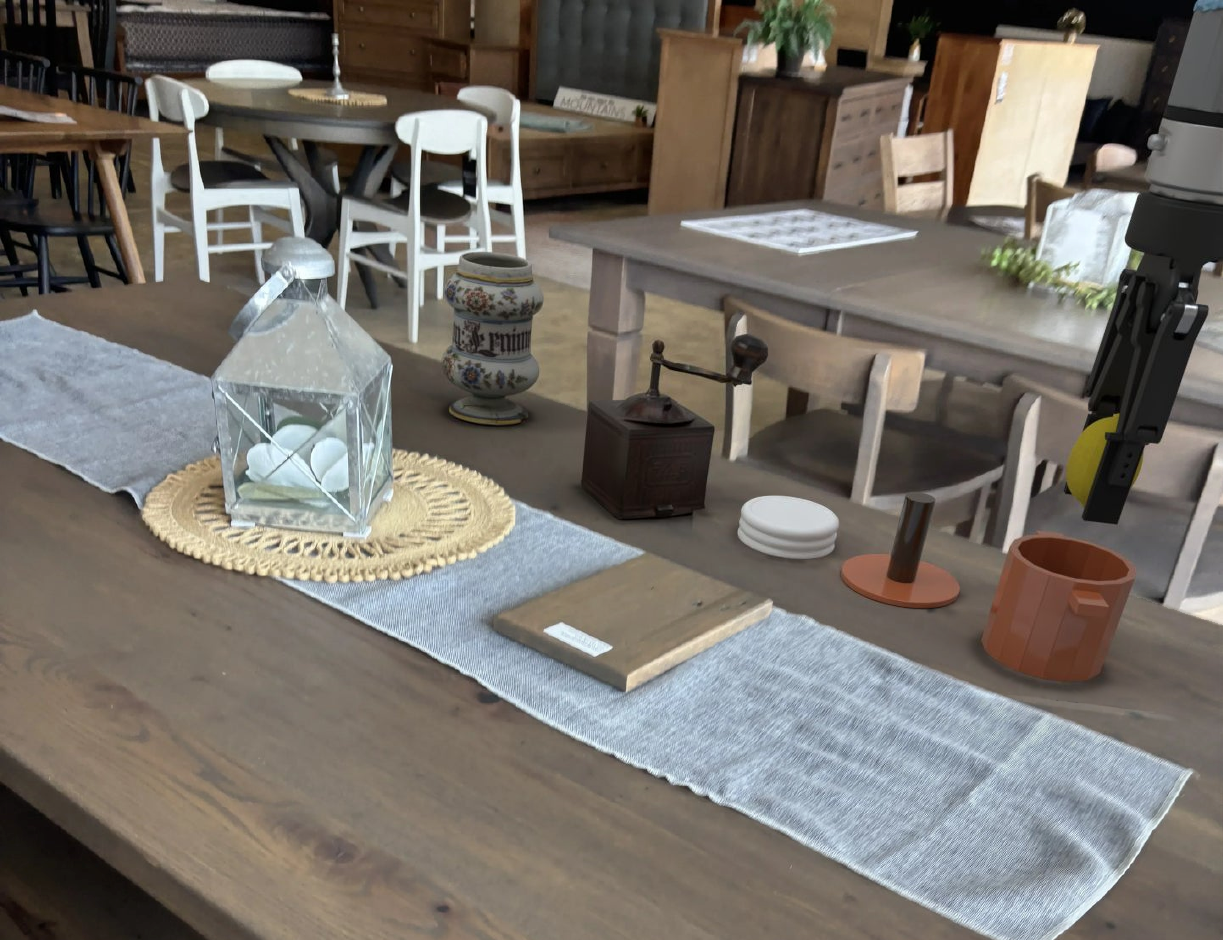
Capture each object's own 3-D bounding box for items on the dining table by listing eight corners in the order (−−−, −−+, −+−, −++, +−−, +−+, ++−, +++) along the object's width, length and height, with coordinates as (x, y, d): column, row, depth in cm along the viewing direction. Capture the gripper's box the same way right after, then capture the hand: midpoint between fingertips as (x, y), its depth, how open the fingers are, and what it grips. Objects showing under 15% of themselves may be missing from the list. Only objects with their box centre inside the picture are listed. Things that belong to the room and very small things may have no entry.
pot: (1076, 627, 113) (1109, 531, 108) (1122, 708, 100) (1162, 604, 95) (966, 613, 113) (994, 517, 108) (998, 693, 100) (1031, 588, 95)
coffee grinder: (620, 523, 124) (640, 341, 113) (578, 485, 132) (592, 313, 121) (749, 513, 130) (778, 340, 120) (701, 477, 138) (724, 312, 128)
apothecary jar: (520, 435, 144) (529, 274, 134) (426, 418, 146) (427, 259, 136) (548, 409, 154) (557, 257, 144) (459, 394, 156) (462, 243, 145)
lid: (947, 572, 121) (971, 484, 116) (965, 620, 112) (992, 526, 106) (835, 559, 121) (854, 470, 116) (844, 606, 112) (865, 511, 107)
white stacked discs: (851, 549, 124) (858, 516, 122) (797, 572, 117) (803, 538, 115) (773, 518, 129) (779, 487, 127) (717, 539, 123) (722, 506, 120)
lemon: (1120, 506, 101) (1153, 410, 96) (1125, 529, 96) (1160, 429, 92) (1053, 494, 101) (1083, 399, 97) (1054, 516, 97) (1086, 417, 92)
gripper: (1108, 172, 93) (1021, 465, 106) (1183, 206, 78) (1071, 544, 91) (1204, 183, 93) (1105, 475, 106) (1298, 220, 78) (1169, 556, 91)
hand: (1089, 506), depth 99 cm, fingers closed on lemon, 5 cm apart
